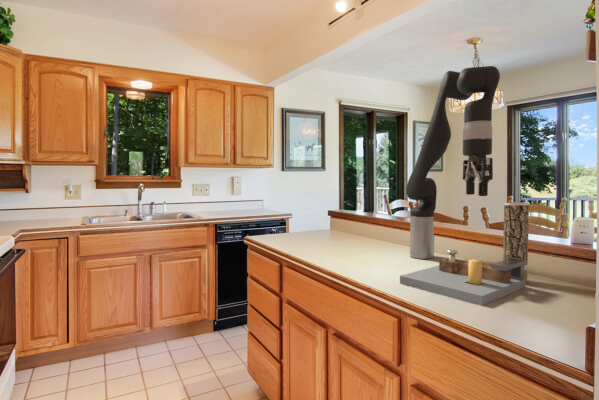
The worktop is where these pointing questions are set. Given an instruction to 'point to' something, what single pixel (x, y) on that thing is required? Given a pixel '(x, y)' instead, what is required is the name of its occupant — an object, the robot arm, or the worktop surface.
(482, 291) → the board
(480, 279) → the pin
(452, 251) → the pintle
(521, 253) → the brown bark-textured cylinder
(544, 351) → the worktop surface
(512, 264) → the keeper
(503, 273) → the link
